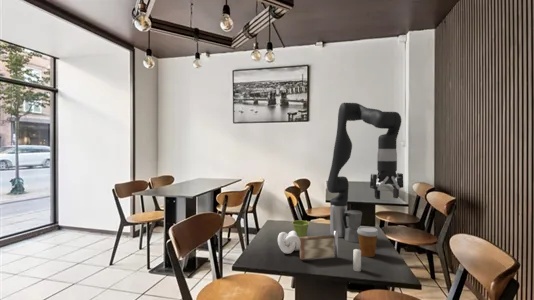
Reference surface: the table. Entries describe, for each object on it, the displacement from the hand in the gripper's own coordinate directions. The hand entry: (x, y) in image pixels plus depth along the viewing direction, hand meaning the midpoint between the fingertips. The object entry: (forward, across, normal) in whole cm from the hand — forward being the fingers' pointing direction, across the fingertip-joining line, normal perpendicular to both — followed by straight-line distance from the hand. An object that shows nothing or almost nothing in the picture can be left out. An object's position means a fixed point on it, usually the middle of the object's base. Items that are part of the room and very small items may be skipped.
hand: (386, 198), depth 121 cm
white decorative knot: (+29, +34, -27) cm, 53 cm away
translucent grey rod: (+29, +15, -15) cm, 36 cm away
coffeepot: (+29, -4, -34) cm, 45 cm away
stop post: (+29, +13, -1) cm, 32 cm away
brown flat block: (+28, +25, -15) cm, 40 cm away
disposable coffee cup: (+29, -1, -14) cm, 33 cm away
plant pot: (+29, +22, -44) cm, 57 cm away
